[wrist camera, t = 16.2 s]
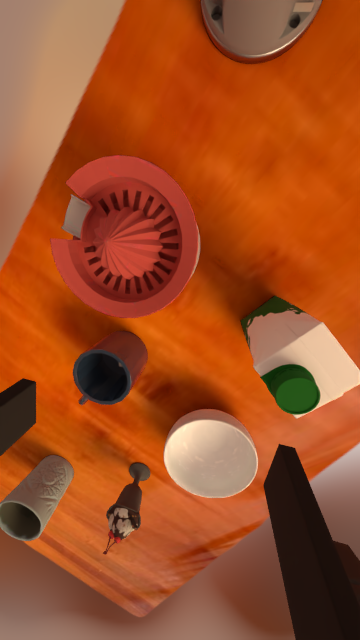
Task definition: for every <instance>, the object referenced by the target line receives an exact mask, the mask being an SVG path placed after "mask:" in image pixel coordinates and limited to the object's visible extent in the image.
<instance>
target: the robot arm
mask: <svg viewBox="0 0 360 640" xmlns="http://www.w3.org/2000/svg"><path fill="white" fill-rule="evenodd" d="M321 3H322V0H201V10H202V16H203V21H204V24H205V27H206V30H207V33H208V35H209V37H210V39H211V40H212V42H213V43H214V45H215V46H216V47H217V48H218V49H219V50H220V51H221V52H222V53H223V54H224V55H225V56H227V57H229V58H230V59H232V60H234V61H237V62H240V63H246V64H257V63H263V62H266V61H269V60H272V59H274V58H276V57H278V56H280V55H282V54H283V53H285V52H286V51H287V50H289V49H290V48H291V47H292V46H293V45H294V44H295V43H297V42H298V40H299V39H300V38H301V37H302V36H303V35H304V33H305V32H306V31H307V29H308V28H309V26H310V25H311V23H312V21H313V20H314V18H315V16H316V14H317V12H318V10H319V7H320V5H321ZM35 423H36V382H35V381H31V380H27V379H21V380H20V381H18V382H17V383H15V384H14V385H12V386H11V387H9V388H7V389H6V390H4V391H3V392H1V393H0V456H1V455H2V454H3V453H4V452H5V451H6V450H7V449H8V448H10V447H11V446H12V445H13V444H14V443H15V442H16V441H17V440H18V439H19V438H20V437H21V436H22V435H23V434H24V433H26V432H27V431H28V430H29V429H30V428H31V427H32V426H33V425H34V424H35ZM264 490H265V495H266V500H267V504H268V509H269V514H270V519H271V524H272V528H273V533H274V538H275V542H276V547H277V552H278V557H279V562H280V567H281V571H282V576H283V581H284V586H285V591H286V595H287V600H288V605H289V609H290V615H291V619H292V624H293V629H294V634H295V638H296V640H360V561H359V559H358V558H357V557H356V555H355V554H354V553H353V551H352V550H351V548H350V547H349V546H348V545H346V544H343V543H339V542H335V541H333V540H332V537H331V535H330V533H329V530H328V528H327V525H326V523H325V520H324V518H323V515H322V513H321V511H320V508H319V506H318V503H317V501H316V498H315V496H314V494H313V491H312V489H311V487H310V484H309V481H308V479H307V476H306V474H305V472H304V469H303V467H302V464H301V462H300V459H299V457H298V455H297V452H296V450H295V448H292V447H289V446H285V445H281V444H279V446H278V448H277V451H276V454H275V456H274V459H273V461H272V464H271V467H270V469H269V472H268V475H267V477H266V480H265V482H264Z"/></svg>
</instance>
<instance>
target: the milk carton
mask: <svg viewBox="0 0 360 640" xmlns="http://www.w3.org/2000/svg"><path fill="white" fill-rule="evenodd" d="M241 325H242V328H243V331H244V334H245V337H246V340H247V343H248V346H249V349H250V351H251V354H252V357H253V360H254V366H253V367H254V369H255V370H256V371H257V372H258V373H259V375H260V376H261V377H260V378H261V379H262V380H263V381H264V382H265V384H266V385H267V388H268V389H269V391H270V393H271V394H272V395H273V397H274V398H275V400H276V402H277V405H278V406H279V407H280V408H281V409H282V410H283V411H285V412H287V413H290V414H293V416H294V417H295V418H299V417H301V416H303V415H305V414H307V413H309V412H311V411H313V410H315V409H317V408H318V407H320V406H322V405H324V404H326V403H328V402H330V401H332V400H335V399H337V398H339V397H341V396H342V395H343V393H344V392H346V391H348V390H350V389H352V388H353V387H355V386H357V385H359V384H360V370H359V369H358V367H357V366H356V365H355V363H354V362H353V361H352V359H351V358H350V357H349V356H348V354H347V353H346V352H345V350H344V349H343V348H342V346H341V345H340V344H339V343H338V341H337V340H336V339H335V337H334V336H333V335H332V333H331V332H330V331H329V329H328V328H327V327H326V326H325V324H324V323H323V322H320V321H318V320H317V319H315V318H314V317H312V316H310V315H309V314H307V313H306V312H304V311H302V310H301V309H299V308H298V307H296V306H294V305H292V304H291V303H289V302H287V301H285V300H283V299H281V298H279V297H277V296H274V297H272V298H271V299H270V300H268V301H267V302H266V303H264V304H263V305H261V306H260V307H259V308H257V309H256V310H255V311H253V312H252V313H250V314H249V315H248V316H246V317H245V318H244V319H242V320H241Z"/></svg>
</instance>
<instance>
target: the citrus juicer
mask: <svg viewBox="0 0 360 640" xmlns="http://www.w3.org/2000/svg"><path fill="white" fill-rule="evenodd" d="M66 184H67V185H68V186H69V187H70V188H71V189H72V190H73V191H74V192H75V193H76V194H77V195H78V196H79V197H81V198H83V199H85V200H84V201H82V200H80V199H79V198H77V197H75V196H73V195H72V194H71V196H72V197H71V200H70V203H69V206H68V208H67V212H66V216H65V221H64V225H63V226H62V227H61V228H62V229H63V230H65V231H67V232H69V233H70V234H72V235H74V236H73V240H66V239H50V242H51V248H52V254H53V257H54V260H55V263H56V266H57V269H58V271H59V272H60V274H61V276H62V278H63V280H64V282H65V283H66V284H67V285H68V287H69V288H70V289H71V291H72V292H73V293H74V294H75V295H76V296H77V297H78V298H79V299H81V300H82V301H83V302H84V303H85V304H87V305H89V306H90V307H92V308H93V309H95V310H97V311H99V312H102V313H104V314H107V315H110V316H115V317H120V318H137V317H142V316H147V315H150V314H152V313H155V312H157V311H159V310H161V309H163V308H164V307H166V306H167V305H168V304H170V303H171V302H173V301H174V299H175V298H176V297H177V296H178V295H179V294H180V293H181V292H182V291H183V289H184V288H185V286H186V284H187V283H188V281H189V280H190V278H191V277H192V275H193V273H194V272H195V269H196V266H197V263H198V261H199V255H200V235H199V230H198V226H197V223H196V220H195V215H194V212H193V210H192V207H191V205H190V203H189V200H188V198H187V197H186V195H185V194H184V192H183V191H182V189H181V188H180V186H179V185H178V183H177V182H176V181H175V180H174V179H173V178H172V177H171V176H170V175H169V174H168V173H167V172H165V171H164V170H162V169H161V168H159V167H158V166H156V165H155V164H153V163H151V162H149V161H146V160H143V159H140V158H138V157H132V156H124V155H116V156H108V157H102V158H100V159H97V160H94V161H91V162H89V163H88V164H86V165H84V166H83V167H81V168H80V169H78V170H77V171H76V172H75V173H74V174H73V175H72V176H71V177H70V178H69V179H68V181H67V182H66Z"/></svg>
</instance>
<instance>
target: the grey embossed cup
mask: <svg viewBox="0 0 360 640" xmlns="http://www.w3.org/2000/svg"><path fill="white" fill-rule="evenodd" d="M73 475H74V471H73V468H72V466H71V464H70V463H69V462H68V461H67V460H65V459H64V458H62V457H60V456H56V455H50V456H47V457H45V458H44V459H43V460H42V461H41V462H40V463H39V464H38V466H37V467H36V468H35V469H34V470H33V471H32V472H31V473H30V474H29V475H28V476H27V477H26V478H25V479H24V480H23V481H22V482H21V483H20V484H19V485H18V486H17V487H16V488H15V489H14V490H13V491H12V492H11V493H10V494H9V495H8V496H7V497H6V498H5V499H4V500H3V501H2V502H1V503H0V527H1V528H2V529H3V530H4V531H5V532H6V533H7V534H8V535H10V536H12V537H13V538H16V539H18V540H23V541H31V540H34V539H36V538H38V537H39V536H40V535H41V533H42V531H43V530H44V528H45V526H46V524H47V522H48V521H49V519H50V517H51V516H52V514H53V512H54V510H55V509H56V507H57V505H58V503H59V500H60V499H61V498H62V496H63V495H64V493H65V491H66V489H67V487H68V486H69V484H70V482H71V481H72V479H73Z"/></svg>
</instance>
